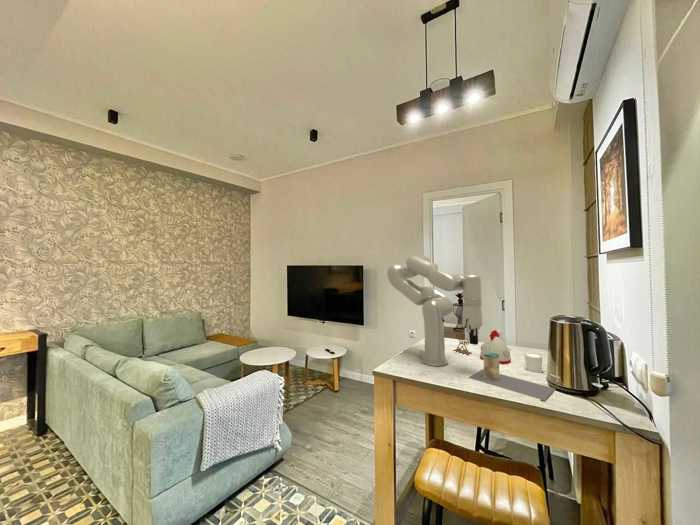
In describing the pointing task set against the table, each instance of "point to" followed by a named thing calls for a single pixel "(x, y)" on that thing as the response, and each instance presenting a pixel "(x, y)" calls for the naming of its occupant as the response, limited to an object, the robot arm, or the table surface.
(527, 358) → the white round tub
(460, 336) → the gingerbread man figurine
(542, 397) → the mat
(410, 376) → the table surface
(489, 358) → the spice jar
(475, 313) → the robot arm
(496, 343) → the white red winter hat
